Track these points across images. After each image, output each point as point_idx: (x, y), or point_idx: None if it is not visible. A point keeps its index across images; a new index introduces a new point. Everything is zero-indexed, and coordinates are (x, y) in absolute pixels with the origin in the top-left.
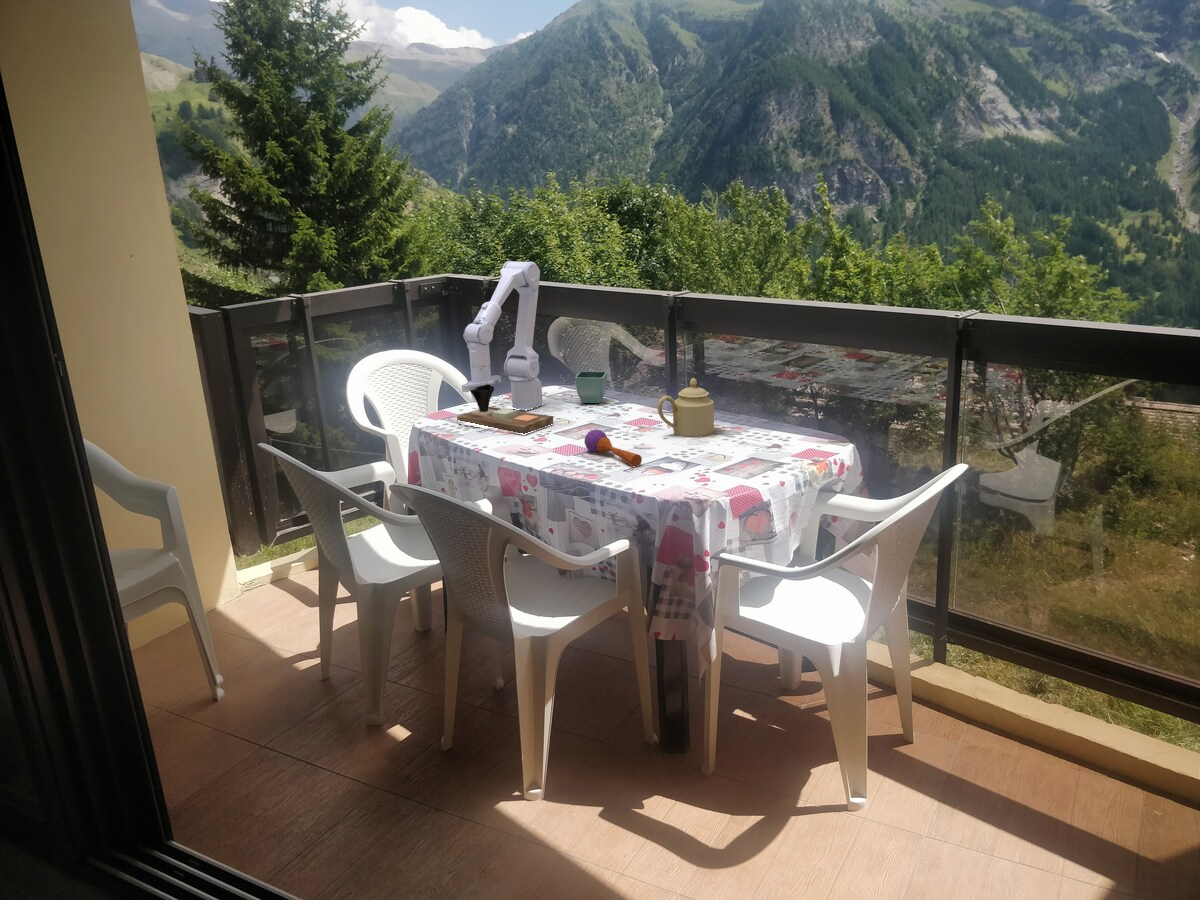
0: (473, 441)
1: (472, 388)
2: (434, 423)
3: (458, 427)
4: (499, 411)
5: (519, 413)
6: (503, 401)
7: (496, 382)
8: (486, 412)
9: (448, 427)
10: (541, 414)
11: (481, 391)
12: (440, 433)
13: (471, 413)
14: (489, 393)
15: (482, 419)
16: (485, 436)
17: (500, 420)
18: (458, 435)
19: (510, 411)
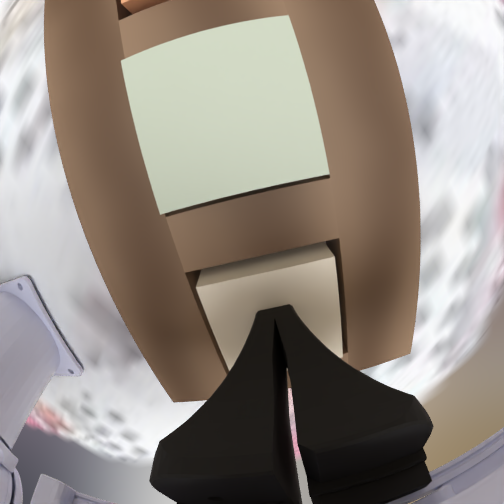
0: (495, 49)
1: (484, 456)
2: (409, 386)
3: (425, 284)
4: (266, 131)
5: (96, 107)
6: (76, 421)
7: (81, 495)
8: (292, 283)
9: (438, 312)
10: (44, 12)
11: (430, 419)
12: (499, 256)
13: None
14: (252, 412)
15: (403, 176)
16: (444, 41)
17: (333, 38)
18: (497, 169)
19: (187, 54)
